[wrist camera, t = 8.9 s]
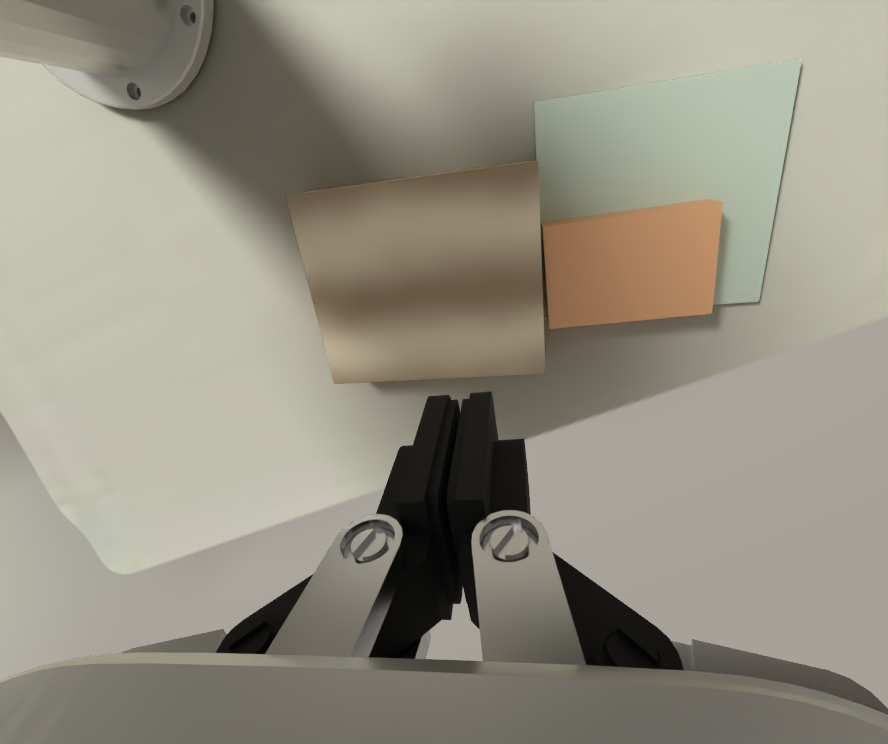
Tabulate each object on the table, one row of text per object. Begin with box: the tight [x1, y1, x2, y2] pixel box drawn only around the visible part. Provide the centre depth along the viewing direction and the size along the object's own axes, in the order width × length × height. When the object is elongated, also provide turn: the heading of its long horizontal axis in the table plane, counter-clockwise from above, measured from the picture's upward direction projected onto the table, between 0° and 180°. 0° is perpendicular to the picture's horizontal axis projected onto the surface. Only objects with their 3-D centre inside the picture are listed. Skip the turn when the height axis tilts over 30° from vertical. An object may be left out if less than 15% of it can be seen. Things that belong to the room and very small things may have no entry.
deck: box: [285, 160, 546, 384], centre depth 28 cm, size 12×14×3 cm
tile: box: [541, 199, 723, 329], centre depth 26 cm, size 6×9×2 cm, turn 99°
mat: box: [534, 58, 802, 317], centre depth 25 cm, size 12×12×1 cm
